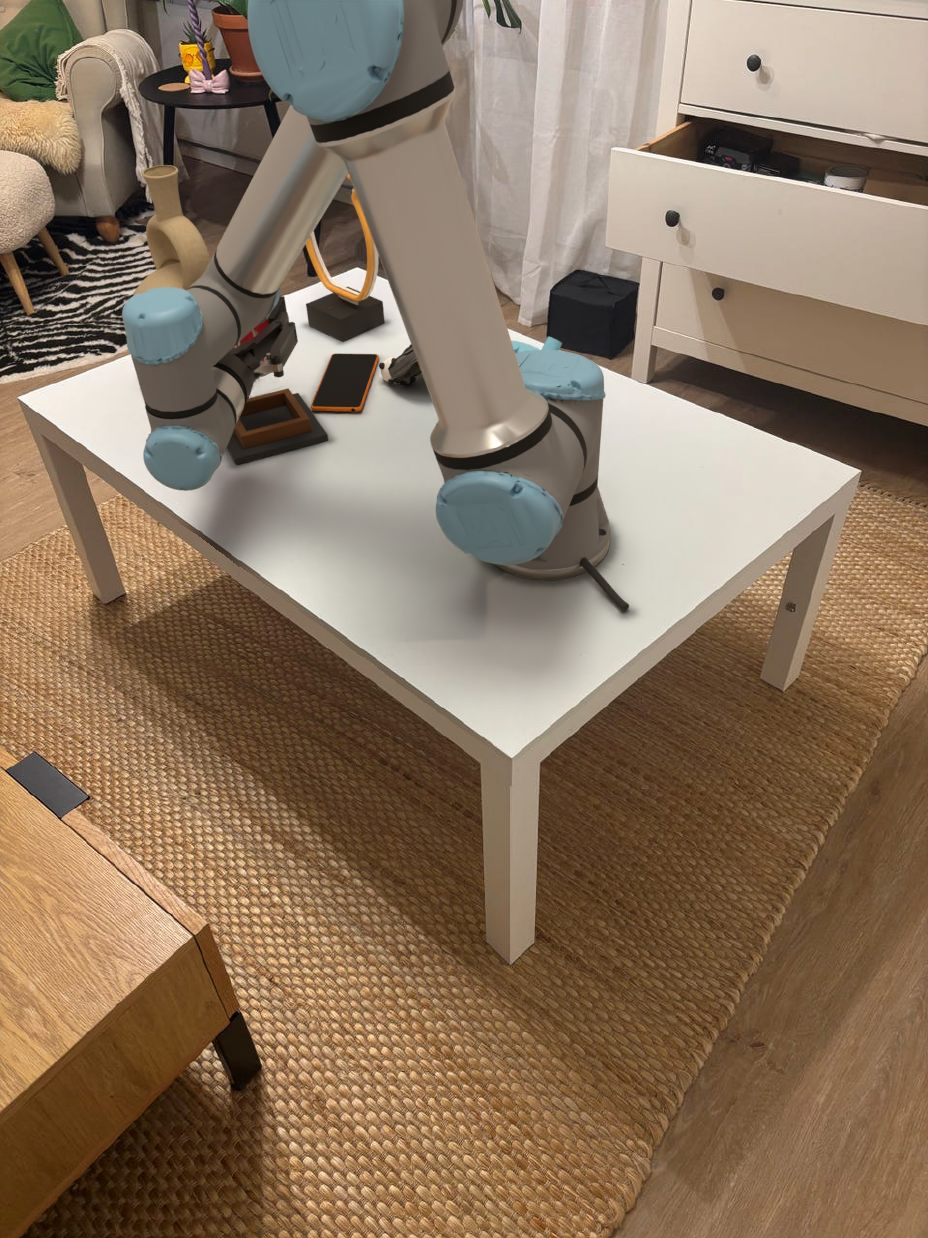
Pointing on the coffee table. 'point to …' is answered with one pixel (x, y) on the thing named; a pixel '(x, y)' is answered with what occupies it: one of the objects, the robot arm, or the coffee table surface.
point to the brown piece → (274, 427)
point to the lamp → (346, 293)
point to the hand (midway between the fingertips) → (257, 306)
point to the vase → (171, 235)
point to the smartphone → (345, 382)
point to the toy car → (401, 368)
